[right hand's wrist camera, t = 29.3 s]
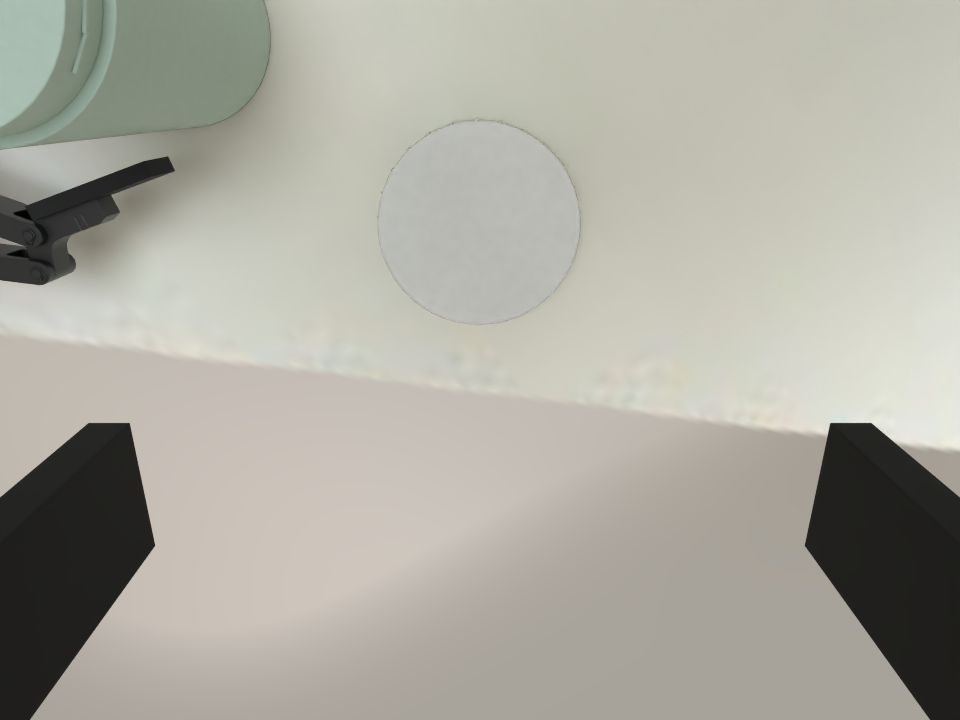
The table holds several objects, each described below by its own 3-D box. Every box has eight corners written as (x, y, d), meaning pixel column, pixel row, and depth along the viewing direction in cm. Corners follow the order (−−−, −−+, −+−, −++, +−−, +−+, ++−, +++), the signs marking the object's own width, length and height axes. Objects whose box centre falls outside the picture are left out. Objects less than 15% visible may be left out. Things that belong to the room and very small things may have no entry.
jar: (145, -130, 34) (-214, -371, 17) (308, 20, 37) (147, -50, 19) (45, 36, 37) (-355, -18, 19) (203, 165, 40) (-23, 223, 22)
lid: (584, 299, 43) (590, 310, 40) (401, 325, 43) (397, 337, 41) (565, 104, 38) (571, 104, 36) (363, 135, 39) (356, 138, 37)
